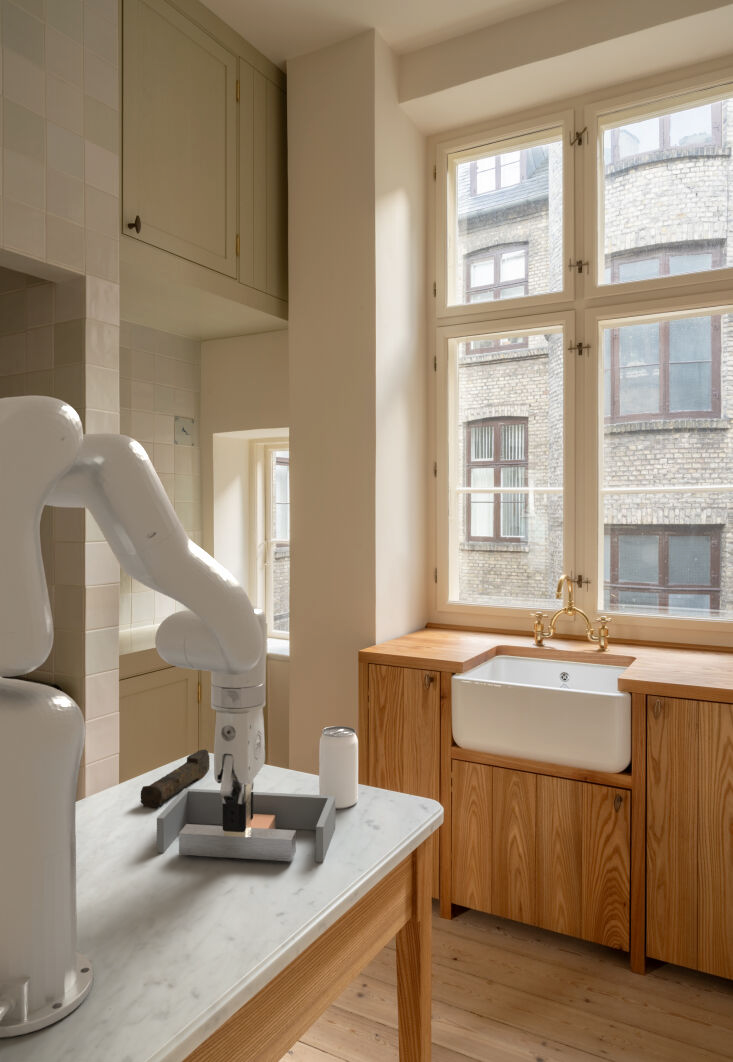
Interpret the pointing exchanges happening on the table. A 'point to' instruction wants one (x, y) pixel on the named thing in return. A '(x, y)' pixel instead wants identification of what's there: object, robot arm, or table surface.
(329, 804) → the box
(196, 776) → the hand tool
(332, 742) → the can
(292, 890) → the table surface
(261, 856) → the scraper
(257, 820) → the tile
